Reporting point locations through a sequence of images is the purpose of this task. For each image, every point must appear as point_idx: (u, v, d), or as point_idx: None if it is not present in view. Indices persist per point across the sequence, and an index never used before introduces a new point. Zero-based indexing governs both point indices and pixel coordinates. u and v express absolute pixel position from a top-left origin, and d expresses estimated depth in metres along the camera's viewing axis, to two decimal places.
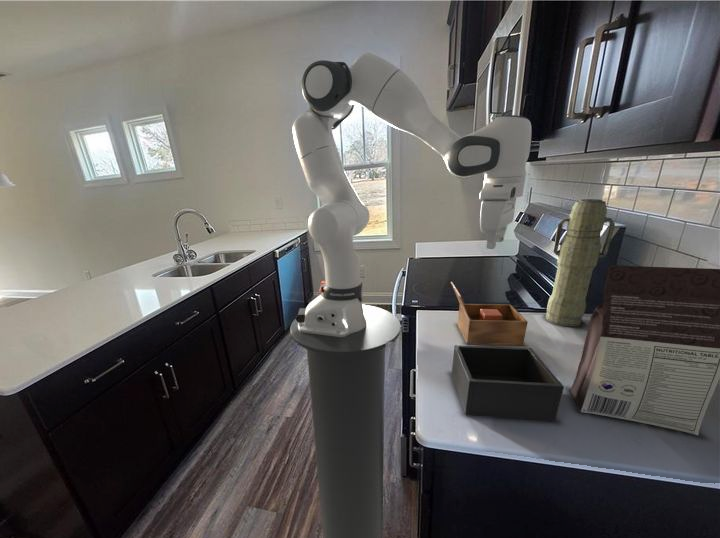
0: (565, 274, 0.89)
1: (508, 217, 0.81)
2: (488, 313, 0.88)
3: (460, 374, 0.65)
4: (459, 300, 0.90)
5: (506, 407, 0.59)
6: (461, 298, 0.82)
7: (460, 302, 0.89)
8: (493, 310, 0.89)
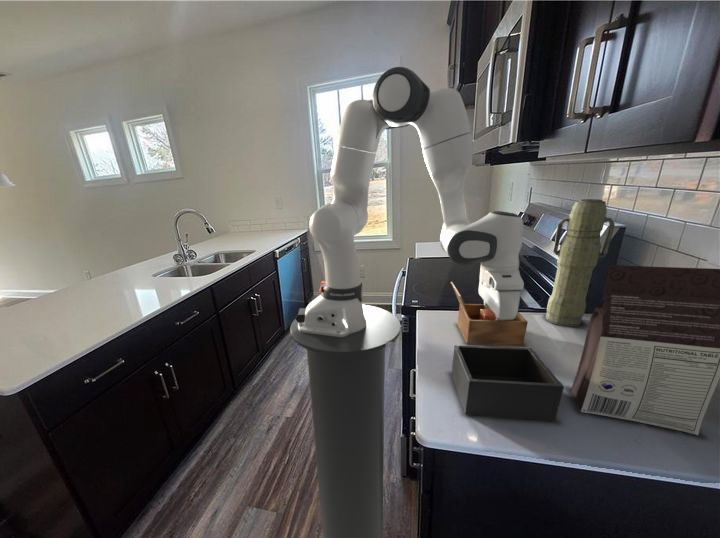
0: (565, 274, 0.89)
1: None
2: (488, 313, 0.88)
3: (460, 374, 0.65)
4: (459, 300, 0.90)
5: (506, 407, 0.59)
6: (461, 298, 0.82)
7: (460, 302, 0.89)
8: None
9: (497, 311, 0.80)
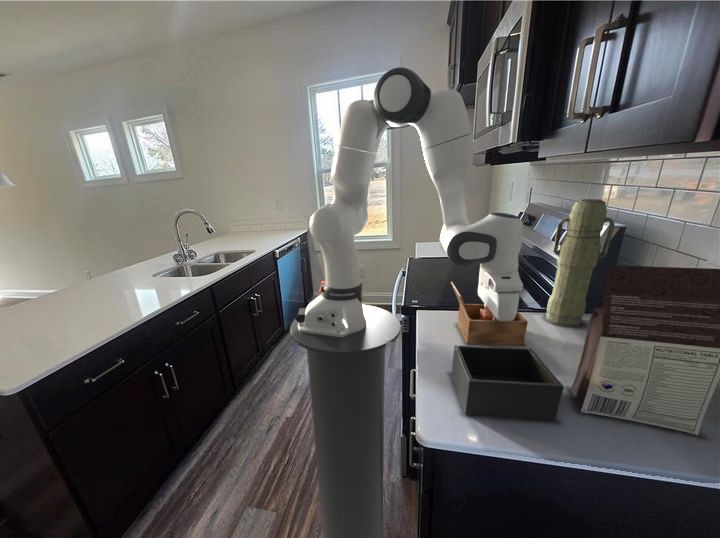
0: (565, 274, 0.89)
1: None
2: (488, 313, 0.88)
3: (460, 374, 0.65)
4: (459, 300, 0.90)
5: (506, 407, 0.59)
6: (461, 298, 0.82)
7: (460, 302, 0.89)
8: None
9: (496, 312, 0.80)
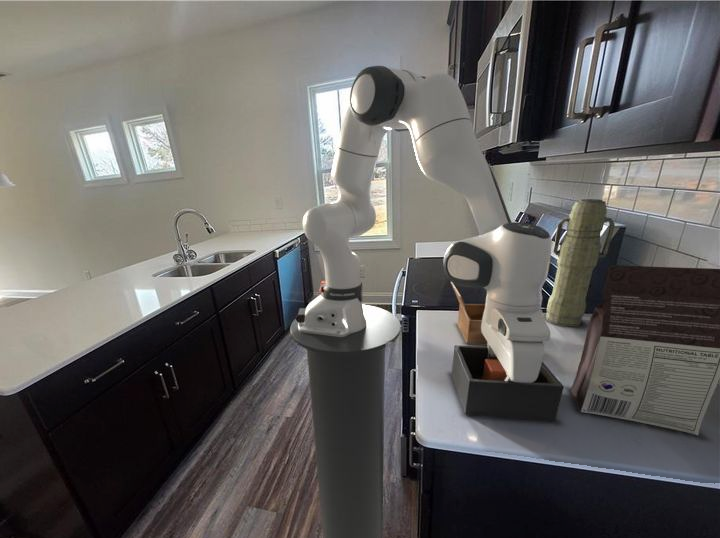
0: (565, 274, 0.89)
1: None
2: (495, 367, 0.63)
3: (460, 374, 0.65)
4: (459, 300, 0.90)
5: (506, 407, 0.59)
6: (461, 298, 0.82)
7: (460, 302, 0.89)
8: None
9: (509, 368, 0.55)
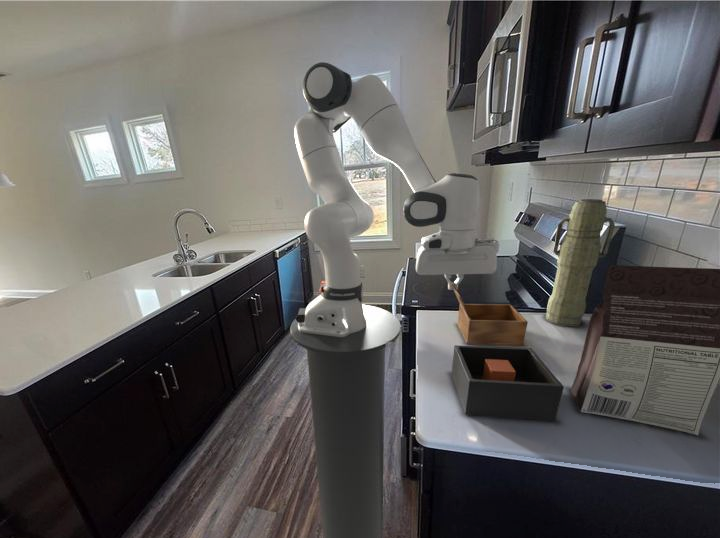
0: (565, 274, 0.89)
1: (464, 266, 0.83)
2: (495, 367, 0.63)
3: (460, 374, 0.65)
4: (459, 300, 0.90)
5: (506, 407, 0.59)
6: (460, 298, 0.82)
7: None
8: (503, 362, 0.65)
9: None
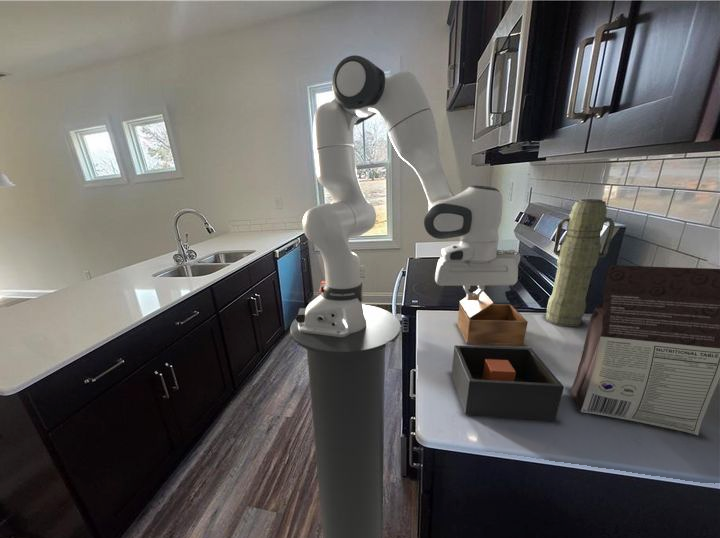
0: (565, 274, 0.89)
1: (485, 278, 0.83)
2: (495, 367, 0.63)
3: (460, 374, 0.65)
4: (471, 302, 0.89)
5: (506, 407, 0.59)
6: (491, 304, 0.81)
7: (470, 303, 0.89)
8: (503, 362, 0.65)
9: None
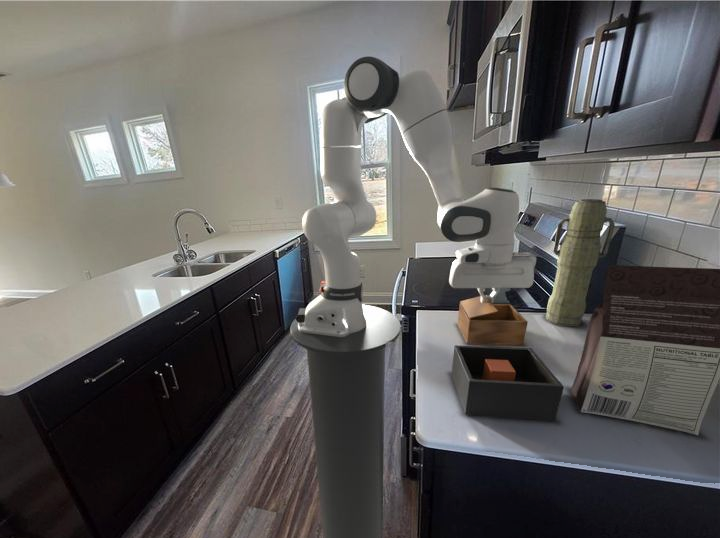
0: (565, 274, 0.89)
1: (500, 280, 0.83)
2: (495, 367, 0.63)
3: (460, 374, 0.65)
4: (473, 305, 0.89)
5: (506, 407, 0.59)
6: (495, 312, 0.82)
7: (472, 306, 0.89)
8: (503, 362, 0.65)
9: None
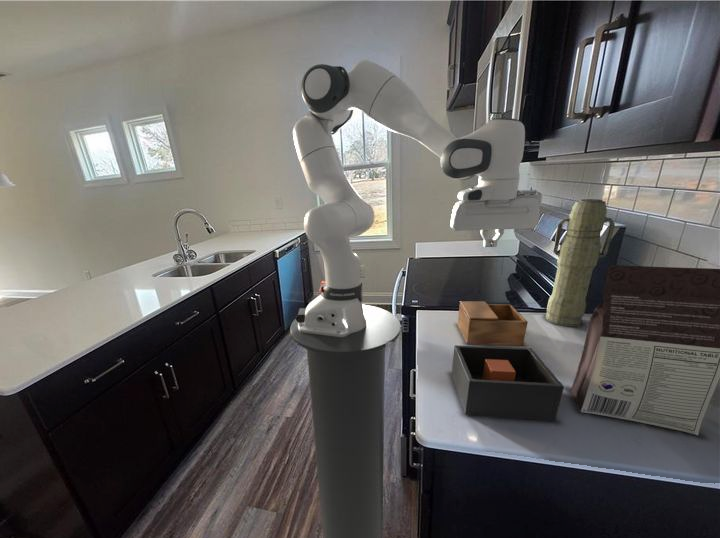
0: (565, 274, 0.89)
1: (504, 220, 0.79)
2: (495, 367, 0.63)
3: (460, 374, 0.65)
4: (473, 307, 0.90)
5: (506, 407, 0.59)
6: (495, 318, 0.83)
7: (472, 308, 0.89)
8: (503, 362, 0.65)
9: None
